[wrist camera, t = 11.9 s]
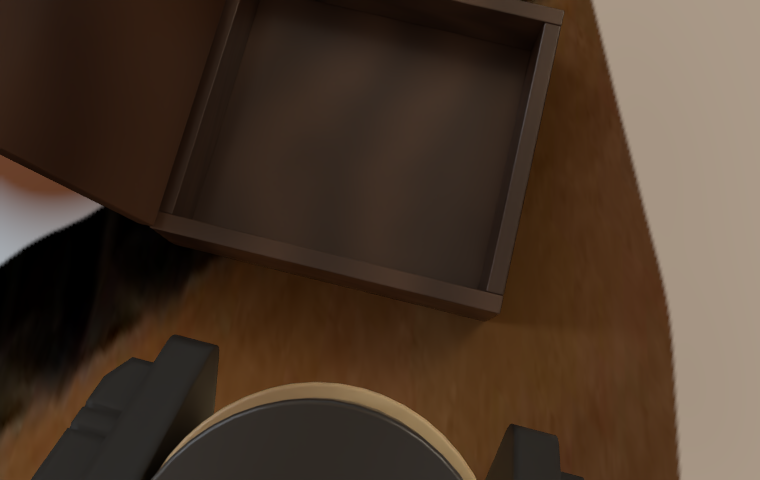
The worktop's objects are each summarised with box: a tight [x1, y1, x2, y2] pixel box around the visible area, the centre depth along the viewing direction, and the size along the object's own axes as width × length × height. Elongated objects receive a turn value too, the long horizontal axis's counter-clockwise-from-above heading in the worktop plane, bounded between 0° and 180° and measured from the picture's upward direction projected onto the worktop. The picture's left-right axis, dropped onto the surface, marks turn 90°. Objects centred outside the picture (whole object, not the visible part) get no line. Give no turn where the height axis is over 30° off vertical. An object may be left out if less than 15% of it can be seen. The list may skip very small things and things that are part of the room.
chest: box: [150, 0, 564, 321], centre depth 34 cm, size 16×15×4 cm
